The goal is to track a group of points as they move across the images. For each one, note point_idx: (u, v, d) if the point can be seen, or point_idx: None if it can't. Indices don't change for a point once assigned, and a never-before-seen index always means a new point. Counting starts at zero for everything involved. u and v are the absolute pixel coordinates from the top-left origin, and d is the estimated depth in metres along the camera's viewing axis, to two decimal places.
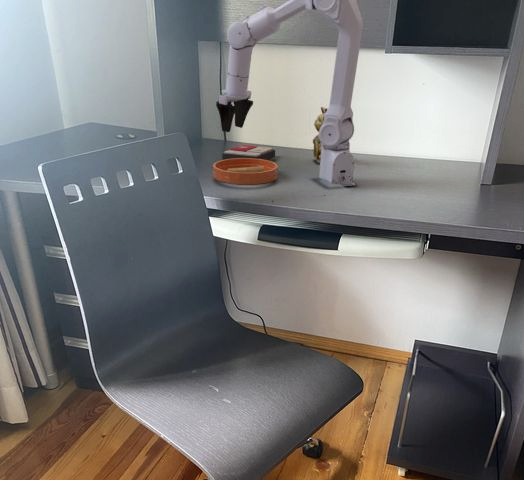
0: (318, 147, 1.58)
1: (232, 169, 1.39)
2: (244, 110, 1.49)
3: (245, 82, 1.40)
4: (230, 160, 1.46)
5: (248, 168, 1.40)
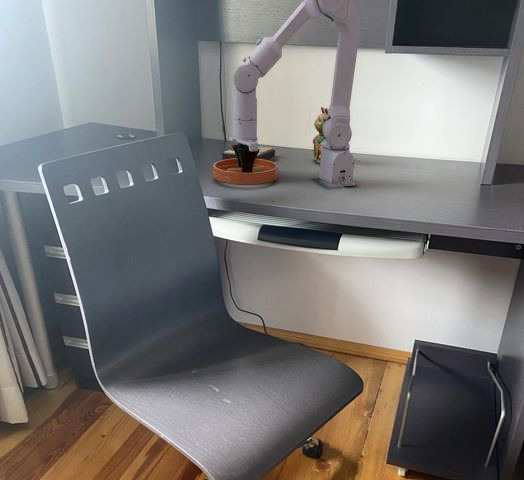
0: (318, 147, 1.58)
1: (232, 169, 1.39)
2: None
3: (256, 123, 1.35)
4: (230, 160, 1.46)
5: None
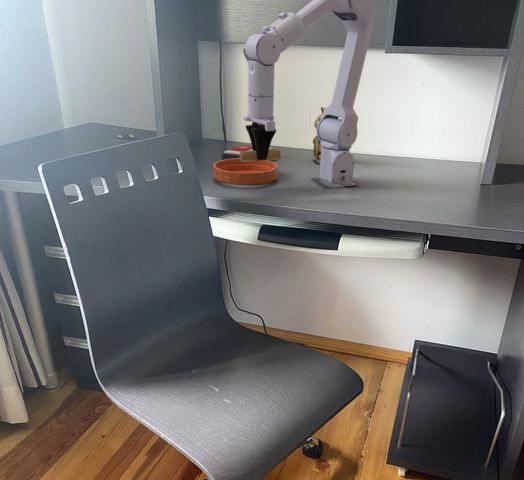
0: (318, 147, 1.58)
1: (245, 152, 1.26)
2: None
3: (273, 101, 1.22)
4: (230, 160, 1.46)
5: None
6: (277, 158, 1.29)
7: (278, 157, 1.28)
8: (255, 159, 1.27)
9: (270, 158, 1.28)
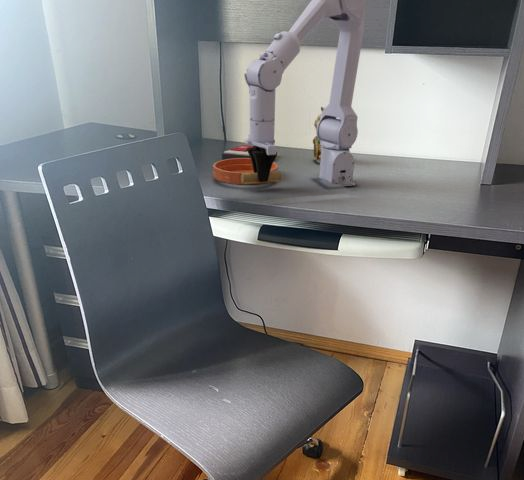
0: (318, 147, 1.58)
1: (247, 174, 1.27)
2: None
3: None
4: (230, 160, 1.46)
5: None
6: (278, 180, 1.30)
7: (279, 179, 1.30)
8: (256, 181, 1.29)
9: (271, 180, 1.30)
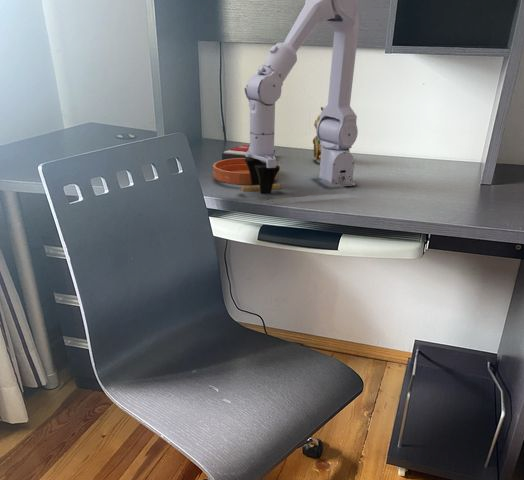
0: (318, 147, 1.58)
1: (247, 187, 1.29)
2: None
3: None
4: (230, 160, 1.46)
5: None
6: None
7: None
8: None
9: None
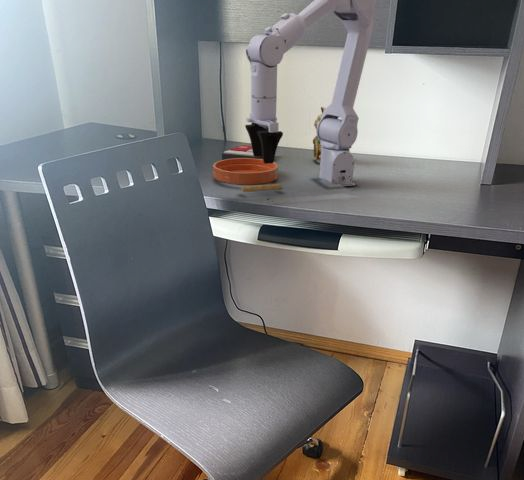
0: (318, 147, 1.58)
1: (247, 187, 1.29)
2: None
3: None
4: (230, 160, 1.46)
5: (264, 186, 1.30)
6: None
7: None
8: None
9: None
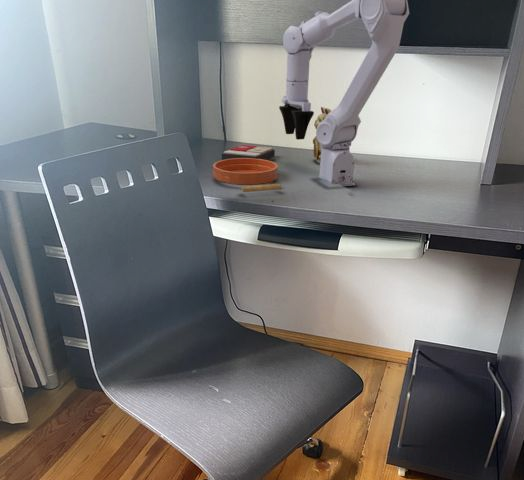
0: (318, 147, 1.58)
1: (247, 187, 1.29)
2: None
3: None
4: (230, 160, 1.46)
5: (264, 186, 1.30)
6: None
7: None
8: None
9: None
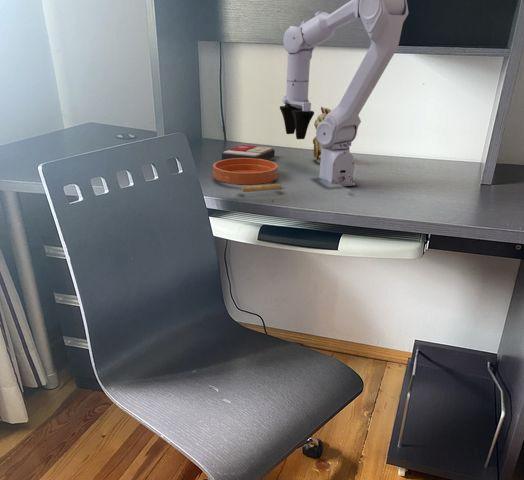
0: (318, 147, 1.58)
1: (247, 187, 1.29)
2: None
3: None
4: (230, 160, 1.46)
5: (264, 186, 1.30)
6: None
7: None
8: None
9: None
